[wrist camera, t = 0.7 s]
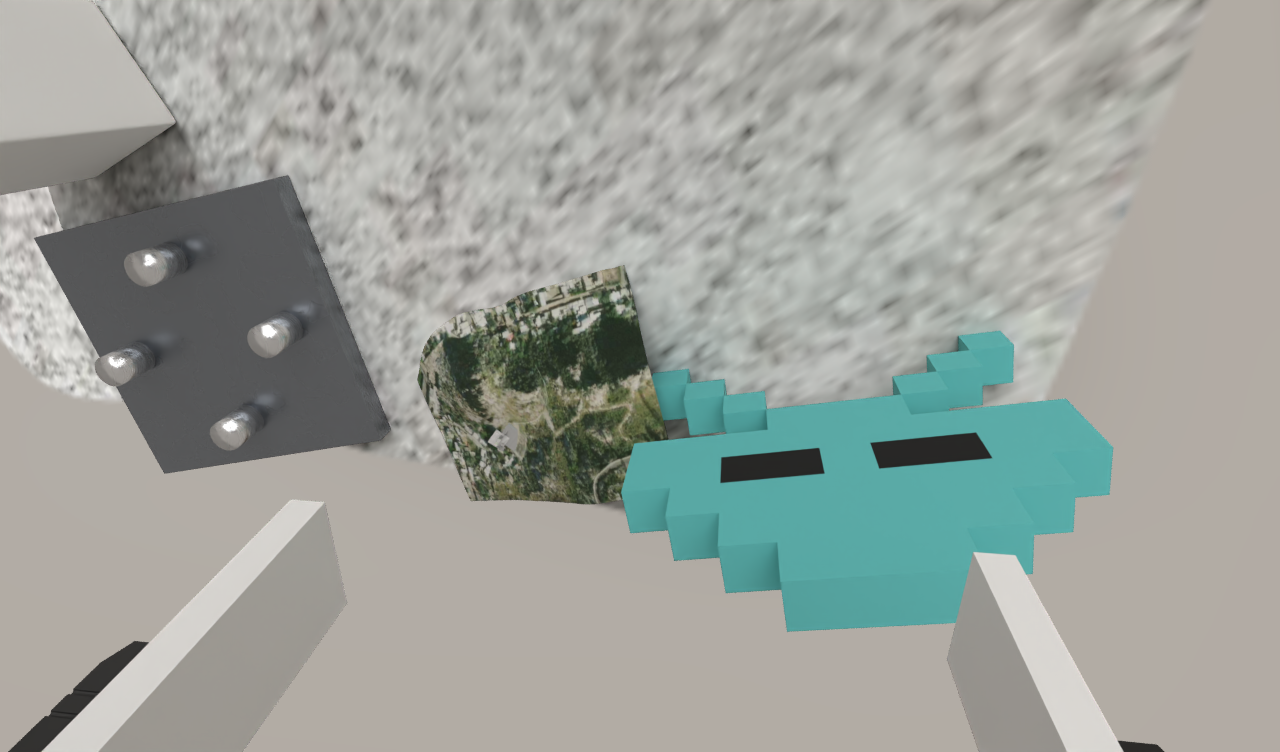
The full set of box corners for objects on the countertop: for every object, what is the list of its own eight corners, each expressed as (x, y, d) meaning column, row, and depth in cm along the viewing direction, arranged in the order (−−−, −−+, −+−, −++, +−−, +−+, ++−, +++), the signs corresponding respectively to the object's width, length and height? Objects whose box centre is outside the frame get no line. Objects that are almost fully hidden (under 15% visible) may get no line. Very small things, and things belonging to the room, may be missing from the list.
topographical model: (620, 231, 41) (605, 233, 39) (689, 477, 43) (678, 493, 41) (403, 297, 47) (378, 302, 44) (474, 510, 49) (454, 526, 47)
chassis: (55, 232, 45) (-5, 247, 41) (288, 175, 42) (245, 186, 38) (179, 462, 51) (137, 493, 48) (390, 429, 48) (362, 459, 44)
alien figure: (659, 405, 45) (606, 640, 27) (653, 373, 44) (593, 593, 26) (999, 366, 41) (1207, 610, 23) (999, 330, 40) (1216, 553, 22)
